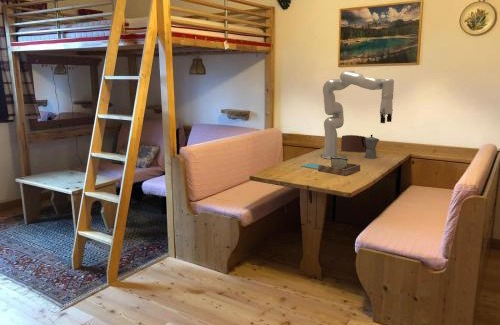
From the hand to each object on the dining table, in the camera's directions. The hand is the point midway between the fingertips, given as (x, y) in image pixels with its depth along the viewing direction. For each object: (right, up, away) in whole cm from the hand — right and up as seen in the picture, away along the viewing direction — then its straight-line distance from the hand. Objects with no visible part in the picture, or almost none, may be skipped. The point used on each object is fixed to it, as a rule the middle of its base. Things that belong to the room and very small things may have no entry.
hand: (385, 122), depth 281 cm
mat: (-48, -31, +7) cm, 57 cm away
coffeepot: (-1, -24, +35) cm, 43 cm away
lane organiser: (-34, -33, -5) cm, 48 cm away
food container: (-33, -34, -6) cm, 48 cm away
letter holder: (-6, -18, +63) cm, 66 cm away
